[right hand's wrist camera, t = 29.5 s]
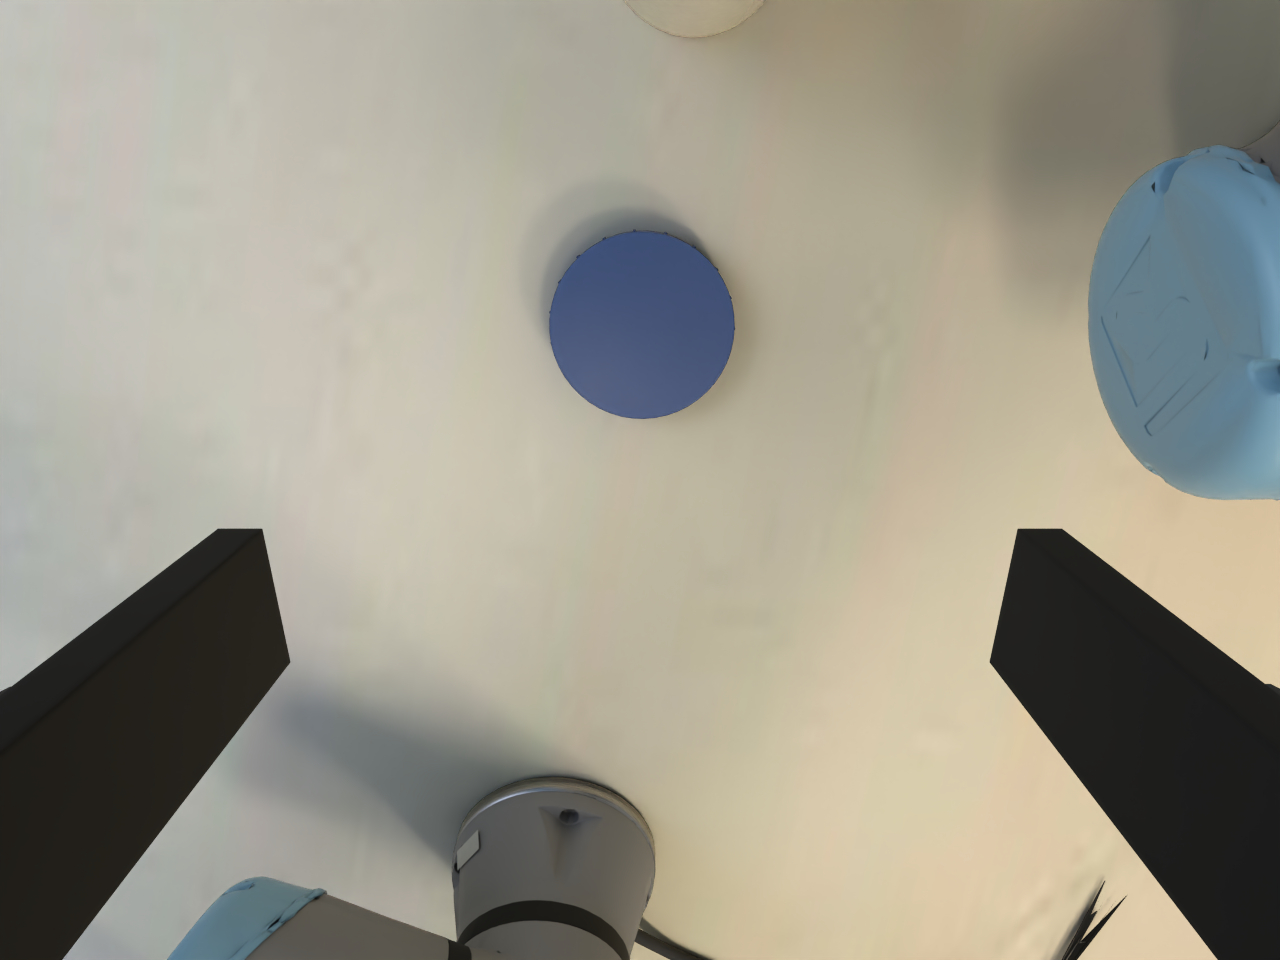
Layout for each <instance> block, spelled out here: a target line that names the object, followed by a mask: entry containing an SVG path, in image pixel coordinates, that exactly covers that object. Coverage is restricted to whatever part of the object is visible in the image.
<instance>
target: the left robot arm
mask: <svg viewBox="0 0 1280 960" xmlns="http://www.w3.org/2000/svg"><path fill="white" fill-rule="evenodd" d="M1088 311H1089V322H1088V330H1089V344H1090V352H1091V358H1092V364H1093V369H1094V373H1095V377H1096V381H1097V384H1098V388H1099V391H1100V394H1101V397H1102V400H1103V403H1104V405H1105V408H1106V410H1107V413H1108V415H1109V417H1110V419H1111V421H1112V423H1113V425H1114V427H1115V429H1116V431H1117V432H1118V434H1119V436H1120V437H1121V439H1122V440H1123V442H1124V443H1125V444H1126V446H1127V447H1128V449H1129V450H1130V451H1131V453H1132V454H1133V455H1134V456H1135V457H1136V458H1137V460H1138V461H1139V462H1140V463H1141V464H1142V465H1143V466H1144V467H1145V468H1146V469H1148V470H1149V471H1151V472H1152V473H1154V474H1156V475H1158V476H1160V477H1162V478H1163V479H1164V481H1165V482H1166V483H1168V484H1169V485H1171V486H1172V487H1174V488H1176V489H1178V490H1180V491H1182V492H1185V493H1188V494H1191V495H1194V496H1198V497H1203V498H1207V499H1219V500H1249V499H1273V500H1280V121H1279V122H1278V124H1277V125H1276V126H1275V127H1274V128H1273V129H1272V130H1271V131H1270V132H1269V133H1267V134H1266V135H1265V136H1264V137H1262V138H1260V139H1259V140H1257V141H1255V142H1254V143H1252V144H1250V145H1248V146H1245V147H1243V148H1238V149H1234V148H1231V147H1228V146H1224V145H1214V146H1209V147H1204V148H1199V149H1195V150H1193V151H1192V152H1190V153H1189V154H1188V155H1186V156H1184V157H1179V158H1174V159H1171V160H1168V161H1166V162H1163V163H1161V164H1159V165H1157V166H1155V167H1154V168H1152V169H1151V170H1149V171H1147V172H1146V173H1145V174H1144V175H1142V176H1141V177H1140V178H1139V179H1138V180H1137V181H1136V182H1135V183H1134V184H1133V185H1132V186H1131V187H1130V188H1129V189H1128V190H1127V191H1126V193H1125V194H1124V195H1123V196H1122V198H1121V199H1120V201H1119V202H1118V204H1117V205H1116V207H1115V208H1114V210H1113V212H1112V214H1111V216H1110V218H1109V220H1108V222H1107V224H1106V226H1105V228H1104V230H1103V233H1102V235H1101V238H1100V241H1099V244H1098V247H1097V250H1096V254H1095V258H1094V262H1093V267H1092V272H1091V278H1090V286H1089V297H1088Z"/></svg>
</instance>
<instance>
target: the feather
mask: <svg viewBox="0 0 1280 960" xmlns="http://www.w3.org/2000/svg"><path fill="white" fill-rule="evenodd" d="M1104 883H1105V881H1104ZM1104 883H1103V884H1102V886H1101V888H1100V890H1099V892H1098V894H1097V895H1096V897H1095V899H1094V901H1093V903H1092V905H1091V907H1090V908H1089V910H1088V912H1087V914H1086V916H1085V918H1084V919H1083V921H1082V923H1081V925H1080V927H1079V929H1078V930H1077V932H1076V934H1075V936H1074V938H1073V940H1072V942H1071V943H1070V945H1069V947H1068V949H1067V951H1066V953H1065V955H1064V956H1063V958H1062V960H1077V959H1078V958H1079V956H1080V955H1081V954H1082V953H1083V951H1084V950H1085V949H1086V947H1087V946H1088V945H1089V944H1090V942H1091V941H1092V940H1093V938H1094V937H1095V936H1096V935H1097V933H1098V932H1099V931H1100V930H1101V928H1102V927H1103V926H1104V924H1105V923H1106V922H1107V921H1108V919H1109V918H1110V917H1111V915H1112V914H1113V913H1114V912H1115V910H1116V909H1117V908H1118V906H1119V905H1120V904H1121V903H1122V901H1123V900H1124V899H1125V898H1124V899H1123V900H1122V901H1121V902H1120V903H1119V904H1118V905H1117V906H1116V907H1115V908H1114V909H1113V910H1112V911H1111V912H1110V913H1109V914H1108V915H1107V916H1106V917H1105V918H1104V917H1103V918H1104V919H1103V920H1101V921H1100V923H1099V924H1098V925H1097V926H1096V927H1095V928H1094V929H1093V930H1092V931H1091V932H1090V933H1089V934H1088V935H1087V936H1086V937H1085V938H1084V939H1083V940H1082V938H1083V936H1084V934H1085V932H1086V931H1087V929H1088V927H1089V925H1090V924H1091V922H1092V920H1093V917H1095V915H1096V912H1098V911H1096V912H1094V913H1093V914H1091V913H1092V910H1093V908H1094V906H1095V903H1096V901H1097V899H1098V896H1099V894H1100V892H1101V889H1102V887H1103V885H1104ZM1102 904H1103V903H1102ZM1111 907H1112V906H1111ZM1106 914H1107V913H1106ZM1081 940H1082V941H1081Z"/></svg>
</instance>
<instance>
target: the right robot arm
mask: <svg viewBox="0 0 1280 960" xmlns="http://www.w3.org/2000/svg"><path fill="white" fill-rule="evenodd" d="M289 663H290V658H289V653H288V649H287V644H286V639H285V634H284V630H283V625H282V620H281V616H280V611H279V606H278V601H277V597H276V592H275V587H274V582H273V578H272V573H271V568H270V563H269V559H268V554H267V549H266V544H265V540H264V535H263V530H262V529H217V530H216V531H215V532H213V533H212V534H211V535H209V536H208V537H207V538H205V539H204V540H203V541H201V542H200V543H199V544H198V545H196V546H195V547H194V548H192V549H191V550H190V551H188V552H187V553H186V554H184V555H183V556H182V557H181V558H179V559H178V560H177V561H175V562H174V563H173V564H171V565H170V566H169V567H167V568H166V569H165V570H164V571H162V572H161V573H160V574H158V575H157V576H156V577H154V578H153V579H152V580H150V581H149V582H148V583H147V584H145V585H144V586H143V587H141V588H140V589H139V590H137V591H136V592H135V593H133V594H132V595H131V596H130V597H128V598H127V599H126V600H124V601H123V602H122V603H120V604H119V605H118V606H116V607H115V608H114V609H113V610H111V611H110V612H109V613H107V614H106V615H105V616H103V617H102V618H101V619H99V620H98V621H97V622H96V623H94V624H93V625H92V626H90V627H89V628H88V629H86V630H85V631H84V632H82V633H81V634H80V635H79V636H77V637H76V638H75V639H73V640H72V641H71V642H69V643H68V644H67V645H65V646H64V647H63V648H62V649H60V650H59V651H58V652H56V653H55V654H54V655H52V656H51V657H50V658H48V659H47V660H46V661H45V662H43V663H42V664H41V665H39V666H38V667H37V668H35V669H34V670H33V671H31V672H30V673H29V674H28V675H26V676H25V677H24V678H22V679H21V680H20V681H18V682H17V683H16V684H14V685H13V686H12V687H9V688H7V689H5V690H3V691H1V692H0V960H62V959H63V958H64V957H65V955H66V954H67V953H68V952H69V950H70V949H71V948H72V946H73V945H74V944H75V942H76V941H77V940H78V938H79V937H80V936H81V935H82V933H83V932H84V931H85V929H86V928H87V927H88V925H89V924H90V923H91V922H92V920H93V919H94V918H95V916H96V915H97V914H98V912H99V911H100V910H101V908H102V907H103V906H104V905H105V903H106V902H107V901H108V899H109V898H110V897H111V895H112V894H113V893H114V892H115V890H116V889H117V888H118V886H119V885H120V884H121V882H122V881H123V880H124V878H125V877H126V876H127V875H128V873H129V872H130V871H131V869H132V868H133V867H134V865H135V864H136V863H137V862H138V860H139V859H140V858H141V856H142V855H143V854H144V852H145V851H146V850H147V848H148V847H149V846H150V845H151V843H152V842H153V841H154V839H155V838H156V837H157V835H158V834H159V833H160V832H161V830H162V829H163V828H164V826H165V825H166V824H167V822H168V821H169V820H170V818H171V817H172V816H173V815H174V813H175V812H176V811H177V809H178V808H179V807H180V805H181V804H182V803H183V802H184V800H185V799H186V798H187V796H188V795H189V794H190V792H191V791H192V790H193V788H194V787H195V786H196V785H197V783H198V782H199V781H200V779H201V778H202V777H203V775H204V774H205V773H206V772H207V770H208V769H209V768H210V766H211V765H212V764H213V762H214V761H215V760H216V758H217V757H218V756H219V755H220V753H221V752H222V751H223V749H224V748H225V747H226V745H227V744H228V743H229V742H230V740H231V739H232V738H233V736H234V735H235V734H236V732H237V731H238V730H239V728H240V727H241V726H242V725H243V723H244V722H245V721H246V719H247V718H248V717H249V715H250V714H251V713H252V712H253V710H254V709H255V708H256V706H257V705H258V704H259V702H260V701H261V700H262V698H263V697H264V696H265V695H266V693H267V692H268V691H269V689H270V688H271V687H272V685H273V684H274V683H275V682H276V680H277V679H278V678H279V676H280V675H281V674H282V672H283V671H284V670H285V668H286V667H287V666H288V665H289ZM990 663H991V665H992V666H993V667H994V668H995V670H996V671H997V672H998V674H999V675H1000V676H1001V678H1002V679H1003V680H1004V682H1005V683H1006V684H1007V685H1008V687H1009V688H1010V689H1011V691H1012V692H1013V693H1014V695H1015V696H1016V697H1017V698H1018V700H1019V701H1020V702H1021V704H1022V705H1023V706H1024V708H1025V709H1026V710H1027V712H1028V713H1029V714H1030V715H1031V717H1032V718H1033V719H1034V721H1035V722H1036V723H1037V725H1038V726H1039V727H1040V728H1041V730H1042V731H1043V732H1044V734H1045V735H1046V736H1047V738H1048V739H1049V740H1050V742H1051V743H1052V744H1053V745H1054V747H1055V748H1056V749H1057V751H1058V752H1059V753H1060V755H1061V756H1062V757H1063V758H1064V760H1065V761H1066V762H1067V764H1068V765H1069V766H1070V768H1071V769H1072V770H1073V772H1074V773H1075V774H1076V775H1077V777H1078V778H1079V779H1080V781H1081V782H1082V783H1083V785H1084V786H1085V787H1086V788H1087V790H1088V791H1089V792H1090V794H1091V795H1092V796H1093V798H1094V799H1095V800H1096V802H1097V803H1098V804H1099V805H1100V807H1101V808H1102V809H1103V811H1104V812H1105V813H1106V815H1107V816H1108V817H1109V818H1110V820H1111V821H1112V822H1113V824H1114V825H1115V826H1116V828H1117V829H1118V830H1119V832H1120V833H1121V834H1122V835H1123V837H1124V838H1125V839H1126V841H1127V842H1128V843H1129V845H1130V846H1131V847H1132V848H1133V850H1134V851H1135V852H1136V854H1137V855H1138V856H1139V858H1140V859H1141V860H1142V862H1143V863H1144V864H1145V865H1146V867H1147V868H1148V869H1149V871H1150V872H1151V873H1152V875H1153V876H1154V877H1155V878H1156V880H1157V881H1158V882H1159V884H1160V885H1161V886H1162V888H1163V889H1164V890H1165V892H1166V893H1167V894H1168V895H1169V897H1170V898H1171V899H1172V901H1173V902H1174V903H1175V905H1176V906H1177V907H1178V908H1179V910H1180V911H1181V912H1182V914H1183V915H1184V916H1185V918H1186V919H1187V920H1188V922H1189V923H1190V924H1191V925H1192V927H1193V928H1194V929H1195V931H1196V932H1197V933H1198V935H1199V936H1200V937H1201V938H1202V940H1203V941H1204V942H1205V944H1206V945H1207V946H1208V948H1209V949H1210V950H1211V952H1212V953H1213V954H1214V955H1215V957H1216V958H1217V959H1218V960H1280V689H1279V688H1277V687H1275V686H1274V685H1272V684H1264V683H1263V682H1262V681H1260V680H1259V679H1258V678H1256V677H1255V676H1254V675H1252V674H1251V673H1250V672H1249V671H1247V670H1246V669H1245V668H1243V667H1242V666H1241V665H1239V664H1238V663H1237V662H1235V661H1234V660H1233V659H1232V658H1230V657H1229V656H1228V655H1226V654H1225V653H1224V652H1222V651H1221V650H1220V649H1218V648H1217V647H1216V646H1215V645H1213V644H1212V643H1211V642H1209V641H1208V640H1207V639H1205V638H1204V637H1203V636H1201V635H1200V634H1199V633H1198V632H1196V631H1195V630H1194V629H1192V628H1191V627H1190V626H1188V625H1187V624H1186V623H1184V622H1183V621H1182V620H1181V619H1179V618H1178V617H1177V616H1175V615H1174V614H1173V613H1171V612H1170V611H1169V610H1167V609H1166V608H1165V607H1164V606H1162V605H1161V604H1160V603H1158V602H1157V601H1156V600H1154V599H1153V598H1152V597H1150V596H1149V595H1148V594H1147V593H1145V592H1144V591H1143V590H1141V589H1140V588H1139V587H1137V586H1136V585H1135V584H1133V583H1132V582H1131V581H1130V580H1128V579H1127V578H1126V577H1124V576H1123V575H1122V574H1120V573H1119V572H1118V571H1116V570H1115V569H1114V568H1113V567H1111V566H1110V565H1109V564H1107V563H1106V562H1105V561H1103V560H1102V559H1101V558H1099V557H1098V556H1097V555H1096V554H1094V553H1093V552H1092V551H1090V550H1089V549H1088V548H1086V547H1085V546H1084V545H1082V544H1081V543H1080V542H1079V541H1077V540H1076V539H1075V538H1073V537H1072V536H1071V535H1069V534H1068V533H1067V532H1065V531H1064V530H1063V529H1018V530H1017V535H1016V540H1015V544H1014V549H1013V554H1012V559H1011V563H1010V568H1009V573H1008V578H1007V582H1006V587H1005V592H1004V597H1003V601H1002V606H1001V611H1000V616H999V620H998V625H997V630H996V634H995V639H994V644H993V649H992V653H991V658H990ZM654 877H655V847H654V841H653V838H652V834H651V832H650V830H649V827H648V826H647V824H646V822H645V821H644V819H643V818H642V816H641V815H640V814H639V813H638V812H637V811H636V809H635V808H634V807H632V806H631V805H630V804H629V803H628V802H627V801H625V800H624V799H623V798H621V797H620V796H618V795H617V794H615V793H613V792H611V791H609V790H607V789H605V788H603V787H601V786H598V785H595V784H592V783H589V782H586V781H581V780H577V779H571V778H562V777H542V778H533V779H527V780H522V781H518V782H515V783H512V784H509V785H506V786H504V787H502V788H500V789H497V790H496V791H494V792H492V793H490V794H489V795H487V796H486V797H485V798H483V799H482V800H481V801H480V802H478V803H477V804H476V805H475V806H474V807H473V809H472V810H471V811H470V812H469V814H468V815H467V816H466V818H465V820H464V822H463V823H462V826H461V828H460V831H459V834H458V838H457V841H456V845H455V849H454V854H453V862H452V881H453V888H454V909H455V921H456V933H457V942H454V941H451V940H449V939H447V938H445V937H442V936H439V935H436V934H433V933H431V932H428V931H425V930H422V929H419V928H417V927H414V926H411V925H408V924H405V923H402V922H400V921H397V920H394V919H391V918H388V917H386V916H383V915H380V914H378V913H375V912H372V911H370V910H367V909H364V908H362V907H359V906H356V905H354V904H351V903H349V902H346V901H343V900H341V899H338V898H335V897H333V896H330V895H327V892H326V891H325V890H323V889H319V888H318V889H314V890H311V889H307V888H303V887H299V886H296V885H292V884H289V883H286V882H282V881H279V880H276V879H273V878H268V877H254V878H249V879H246V880H243V881H241V882H239V883H237V884H236V885H234V886H232V887H231V888H230V889H228V890H227V891H226V892H225V893H224V894H222V895H221V896H220V897H219V898H218V899H217V900H216V901H215V902H214V903H213V904H212V905H211V906H210V907H209V909H208V910H207V911H206V912H205V913H204V914H203V915H202V917H201V918H200V919H199V920H198V921H197V922H196V924H195V925H194V926H193V927H192V929H191V930H190V931H189V932H188V934H187V935H186V936H185V937H184V939H183V940H182V941H181V942H180V944H179V945H178V946H177V947H176V949H175V950H174V951H173V953H172V954H171V955H170V956H169V958H168V959H167V960H630V954H631V951H632V948H633V944H634V941H635V942H637V943H638V944H640V945H642V946H644V947H646V948H648V949H650V950H652V951H654V952H656V953H658V954H660V955H662V956H664V957H666V958H668V959H670V960H702V959H700V958H697V957H695V956H693V955H690V954H688V953H686V952H683V951H681V950H679V949H677V948H675V947H673V946H671V945H669V944H667V943H665V942H663V941H661V940H659V939H657V938H655V937H653V936H651V935H650V934H648V933H646V932H644V931H642V930H640V929H638V928H639V925H640V922H641V918H642V915H643V912H644V910H645V909H646V907H647V904H648V901H649V899H650V896H651V893H652V889H653V884H654Z"/></svg>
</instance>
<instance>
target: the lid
mask: <svg viewBox="0 0 1280 960" xmlns="http://www.w3.org/2000/svg"><path fill="white" fill-rule="evenodd" d="M695 248H696V247H695V246H694V245H692V246H691V245H689V244H688V243H686V242H684V241H682V240H680V239H678V238H676V237H673V236H670V235H667V233H666V232H664V233H659V232H654V231H636V229H634V230H633V231H631V232H625V233H620V234H616V235H614V236H611V237H608V238H606V237H604V238H603V240H602V241H600V242H598V243H596V244H595V245H593V246H592V247H590V248H589V249H588V250H586V251H585V252H584V253H583V254H581V255H580V254H579V255H578V256H577V259H576V260H575V261H574V262H573V264H572V265H571V266H570V267H569V269H568V270H567V271H566V273H565V274H564V276H563V278H562V279H561V280H560V281H559V282H558V283H559V285H558V287H557V290H556V292H555V295H554V298H553V302H552V306H551V311H550V339H551V345H552V349H553V352H554V356H555V358H556V361H557V363H558V366H559V368H560V369H561V371H562V373H563V375H564V376H565V378H566V379H567V381H568V382H569V383H570V385H571V386H572V387H573V388H574V389H575V390H576V391H577V392H578V393H579V394H580V395H581V396H582V397H583V398H585V399H586V400H587V401H588V402H590V403H591V404H593V405H595V406H596V407H598V408H600V409H602V410H604V411H606V412H609V413H611V414H615V415H618V416H622V417H628V418H638V419H647V418H657V417H661V416H666V415H669V414H672V413H675V412H678V411H680V410H682V409H684V408H686V407H688V406H689V405H691V404H692V403H694V402H695V401H697V400H698V399H699V398H700V397H702V396H703V395H704V394H705V393H706V392H707V391H708V390H709V389H710V388H711V387H712V386H713V384H714V383H715V382H716V380H717V379H718V377H719V376H720V375H721V373H722V371H723V369H724V367H725V365H726V363H727V361H728V359H729V355H730V352H731V348H732V344H733V339H734V330H735V326H734V312H733V306H732V302H731V299H732V298H731V296H730V295H729V292H728V290H727V287H726V285H725V283H724V281H723V279H722V278H721V276H720V274H719V273H718V269H717V268H716V267H714V266H713V265H712V264H711V263H710V261H709V260H708V259H707V258H706V257H705V256H703V255H702V254H701V253H700V252H699V251H698V250H696V249H695Z"/></svg>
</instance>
